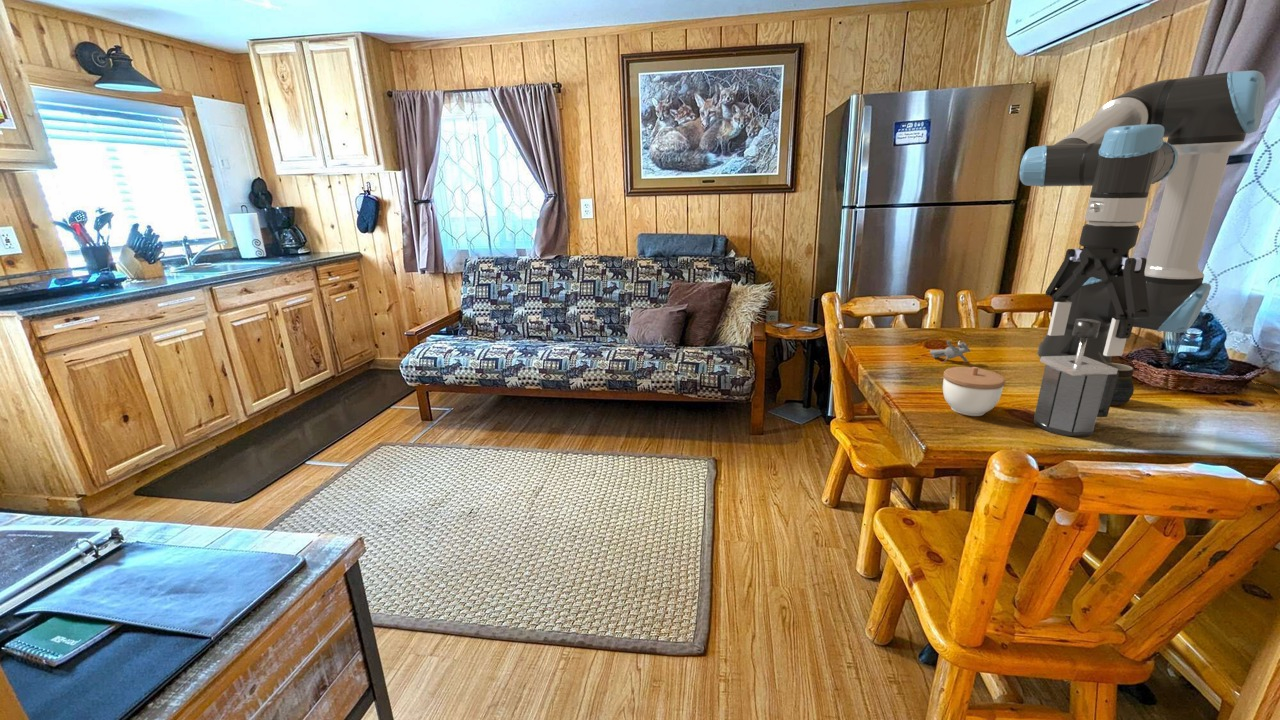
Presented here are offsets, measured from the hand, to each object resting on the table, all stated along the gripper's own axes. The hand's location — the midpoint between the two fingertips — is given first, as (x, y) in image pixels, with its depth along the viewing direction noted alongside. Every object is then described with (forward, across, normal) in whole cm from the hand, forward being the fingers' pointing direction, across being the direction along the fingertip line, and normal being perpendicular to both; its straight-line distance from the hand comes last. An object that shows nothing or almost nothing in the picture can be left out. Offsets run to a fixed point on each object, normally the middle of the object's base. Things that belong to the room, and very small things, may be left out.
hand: (1082, 344), depth 99 cm
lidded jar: (+17, -9, -13) cm, 23 cm away
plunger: (+14, 0, 0) cm, 14 cm away
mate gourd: (+17, -11, +18) cm, 27 cm away
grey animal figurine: (+17, -39, 0) cm, 43 cm away
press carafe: (+16, 0, +2) cm, 16 cm away
